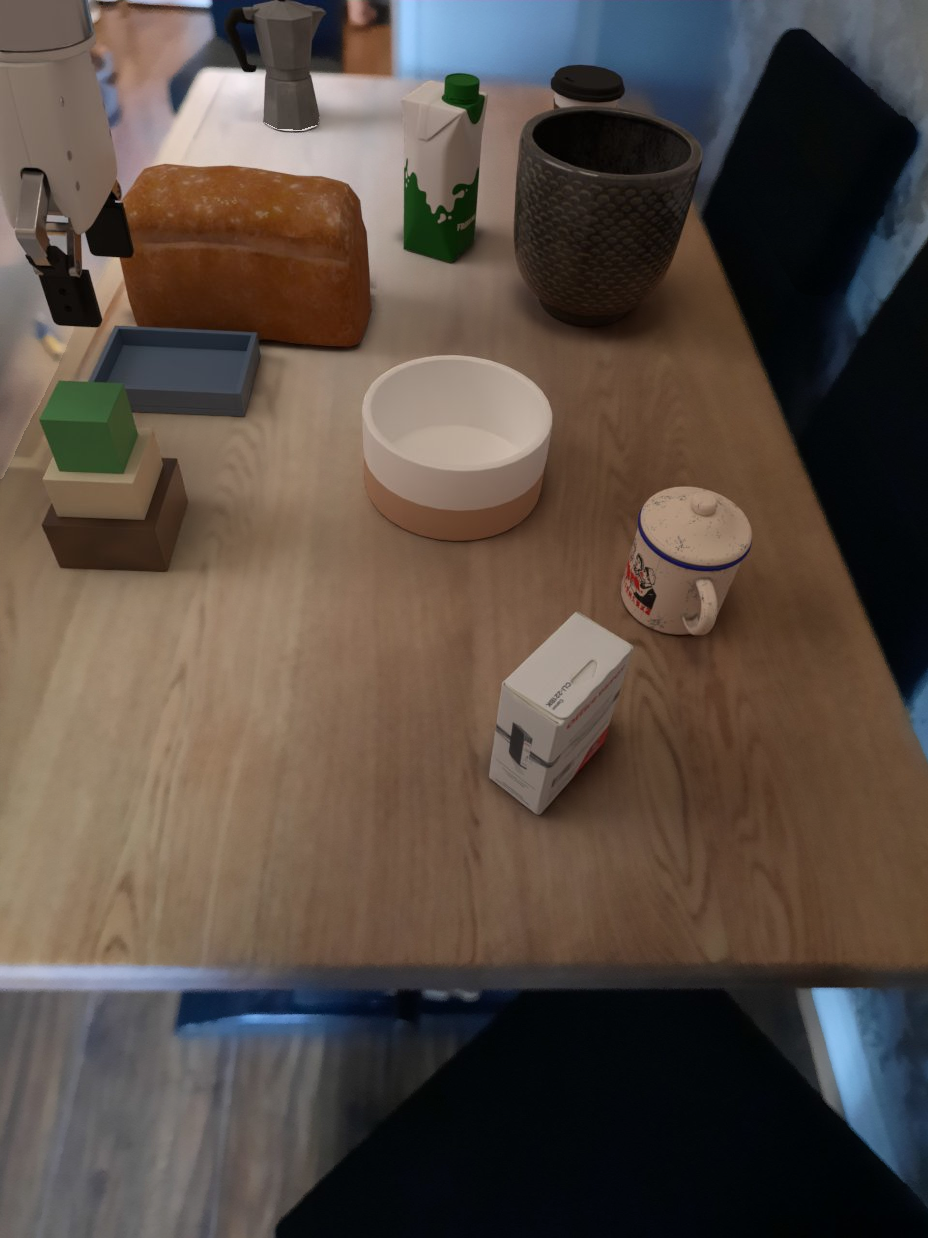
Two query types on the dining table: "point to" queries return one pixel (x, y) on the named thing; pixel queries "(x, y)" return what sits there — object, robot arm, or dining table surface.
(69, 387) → the green block
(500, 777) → the ink box
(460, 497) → the bowl
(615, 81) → the coffee cup
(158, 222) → the bread
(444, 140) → the milk carton
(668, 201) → the planter
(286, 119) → the coffeepot
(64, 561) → the walnut block
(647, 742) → the dining table surface
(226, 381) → the tray
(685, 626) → the teacup with lid
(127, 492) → the cream block
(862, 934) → the dining table surface
